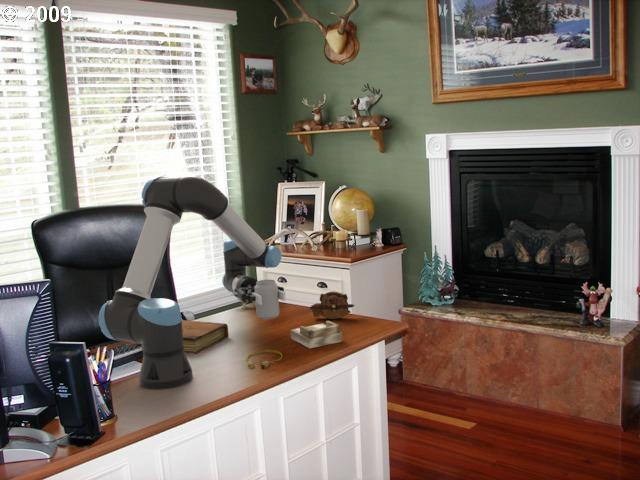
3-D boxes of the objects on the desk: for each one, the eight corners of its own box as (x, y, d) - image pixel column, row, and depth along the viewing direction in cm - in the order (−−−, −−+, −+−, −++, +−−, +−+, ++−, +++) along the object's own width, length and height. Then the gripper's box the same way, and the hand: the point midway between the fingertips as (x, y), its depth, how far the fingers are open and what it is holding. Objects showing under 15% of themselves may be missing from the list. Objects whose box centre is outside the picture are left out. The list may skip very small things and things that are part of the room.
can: (252, 317, 239) (249, 281, 238) (269, 312, 244) (267, 277, 243) (266, 321, 234) (263, 284, 232) (284, 316, 239) (281, 280, 237)
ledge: (309, 348, 235) (308, 331, 234) (291, 338, 247) (290, 322, 246) (342, 341, 240) (341, 325, 239) (322, 332, 252) (321, 316, 252)
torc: (230, 367, 223) (230, 360, 223) (261, 351, 236) (261, 345, 236) (262, 372, 216) (262, 365, 216) (293, 356, 229) (292, 350, 229)
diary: (228, 339, 253) (227, 323, 252) (196, 355, 237) (194, 338, 236) (175, 333, 264) (174, 318, 263) (140, 349, 247) (139, 332, 246)
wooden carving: (310, 321, 268) (308, 294, 266) (311, 317, 272) (309, 291, 270) (355, 319, 266) (353, 292, 264) (355, 316, 270) (354, 290, 268)
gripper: (274, 293, 259) (302, 305, 239) (219, 301, 250) (243, 315, 230) (272, 272, 258) (300, 282, 238) (217, 280, 249) (241, 291, 229)
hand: (272, 298), depth 234 cm, fingers closed on can, 7 cm apart
